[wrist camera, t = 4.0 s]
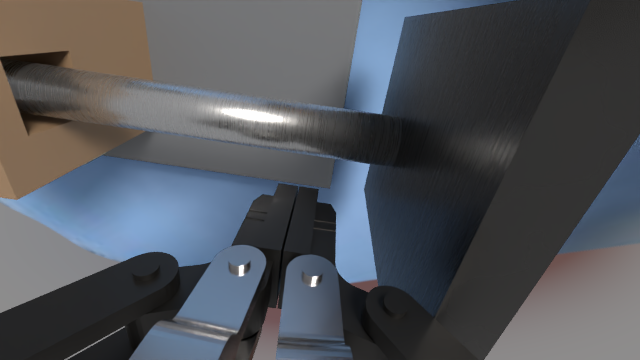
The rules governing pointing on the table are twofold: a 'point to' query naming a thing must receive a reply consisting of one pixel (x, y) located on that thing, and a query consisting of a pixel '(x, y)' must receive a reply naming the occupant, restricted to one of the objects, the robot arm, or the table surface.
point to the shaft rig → (173, 77)
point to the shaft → (432, 142)
